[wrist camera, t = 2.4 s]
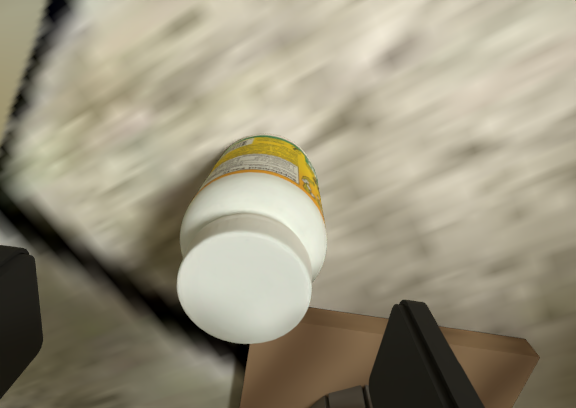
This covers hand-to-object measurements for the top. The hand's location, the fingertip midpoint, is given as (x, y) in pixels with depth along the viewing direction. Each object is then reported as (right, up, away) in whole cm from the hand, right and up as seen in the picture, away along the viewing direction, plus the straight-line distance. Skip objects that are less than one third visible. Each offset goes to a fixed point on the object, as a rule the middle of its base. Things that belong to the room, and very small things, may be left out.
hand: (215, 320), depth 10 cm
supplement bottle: (+1, +4, +10) cm, 11 cm away
